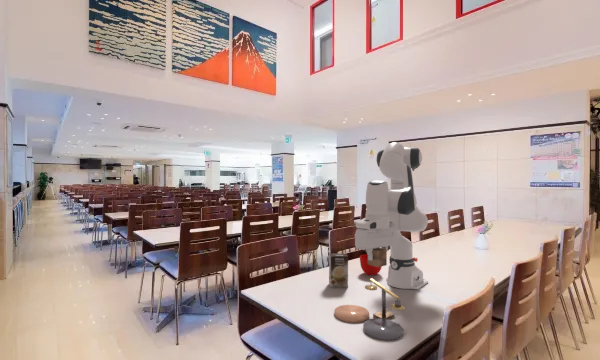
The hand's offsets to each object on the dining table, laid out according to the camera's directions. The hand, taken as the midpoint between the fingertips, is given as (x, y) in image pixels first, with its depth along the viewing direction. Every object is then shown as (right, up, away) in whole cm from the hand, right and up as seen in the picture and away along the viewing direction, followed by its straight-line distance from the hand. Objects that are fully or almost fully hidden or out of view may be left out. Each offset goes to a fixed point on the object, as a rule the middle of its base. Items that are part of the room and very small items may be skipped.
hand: (377, 259), depth 116 cm
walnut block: (0, -2, 0) cm, 2 cm away
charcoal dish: (+1, -25, -5) cm, 25 cm away
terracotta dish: (-8, -25, +8) cm, 27 cm away
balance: (+4, -25, +5) cm, 26 cm away
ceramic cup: (+12, -25, +64) cm, 69 cm away
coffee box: (-9, -25, +42) cm, 50 cm away
